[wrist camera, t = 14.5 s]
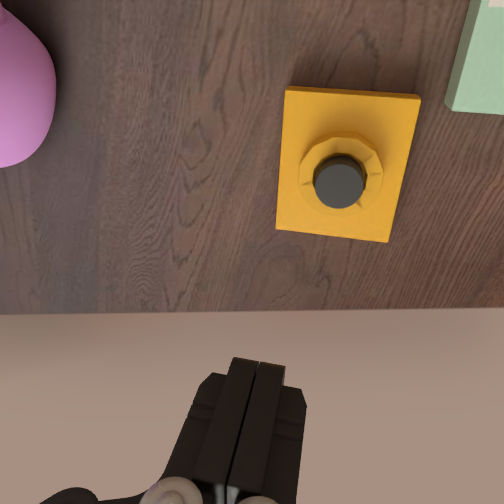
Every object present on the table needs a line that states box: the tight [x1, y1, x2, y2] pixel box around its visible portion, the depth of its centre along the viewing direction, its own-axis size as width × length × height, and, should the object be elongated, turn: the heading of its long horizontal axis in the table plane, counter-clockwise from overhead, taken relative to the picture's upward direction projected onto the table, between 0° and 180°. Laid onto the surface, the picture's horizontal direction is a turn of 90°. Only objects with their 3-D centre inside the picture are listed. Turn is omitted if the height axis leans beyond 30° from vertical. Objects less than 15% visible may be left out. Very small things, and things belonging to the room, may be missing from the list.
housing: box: [276, 86, 421, 243], centre depth 34 cm, size 12×10×4 cm
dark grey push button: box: [315, 156, 364, 209], centre depth 31 cm, size 4×4×2 cm
